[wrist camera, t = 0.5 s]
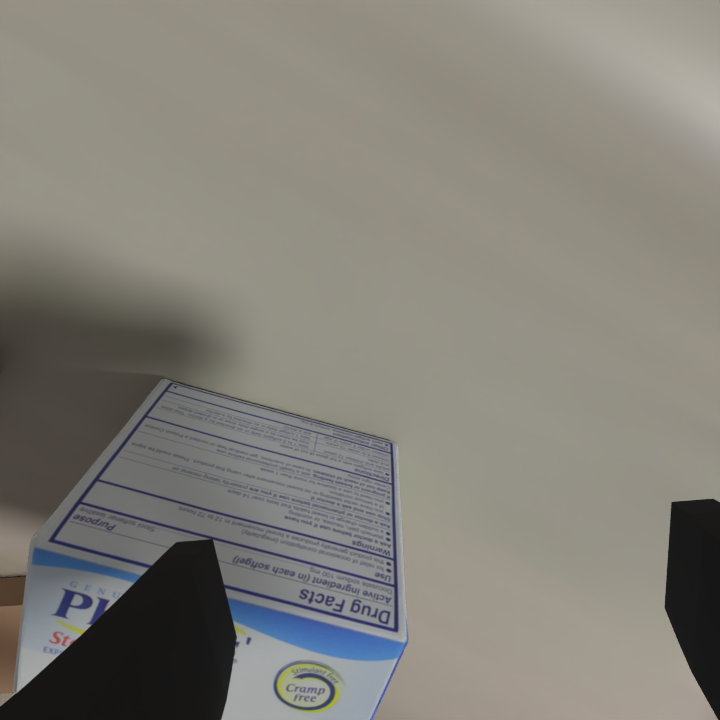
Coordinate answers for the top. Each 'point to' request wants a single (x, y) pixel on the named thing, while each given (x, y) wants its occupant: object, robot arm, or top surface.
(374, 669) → the medicine box
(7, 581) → the notched board
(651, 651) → the top surface
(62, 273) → the top surface
